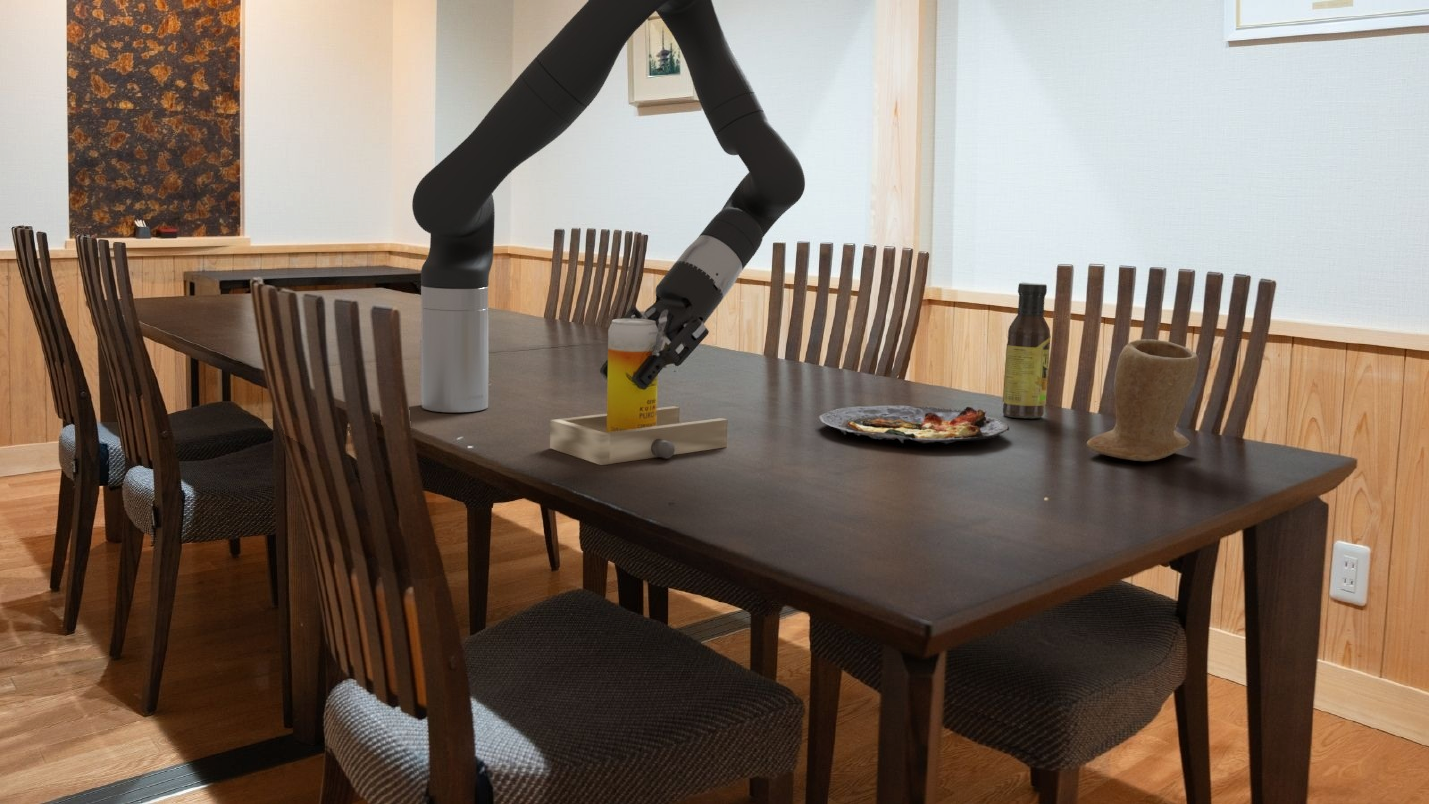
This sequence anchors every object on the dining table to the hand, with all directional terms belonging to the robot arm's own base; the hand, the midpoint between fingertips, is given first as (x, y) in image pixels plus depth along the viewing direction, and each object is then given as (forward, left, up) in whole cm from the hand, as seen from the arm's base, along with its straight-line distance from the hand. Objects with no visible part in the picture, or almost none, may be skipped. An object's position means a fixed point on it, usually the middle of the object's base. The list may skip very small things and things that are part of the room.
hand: (621, 380), depth 146 cm
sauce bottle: (+12, +66, -9) cm, 67 cm away
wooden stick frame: (0, +4, -9) cm, 9 cm away
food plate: (+12, +41, -9) cm, 43 cm away
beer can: (0, +2, -8) cm, 8 cm away
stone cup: (+38, +55, -9) cm, 68 cm away
